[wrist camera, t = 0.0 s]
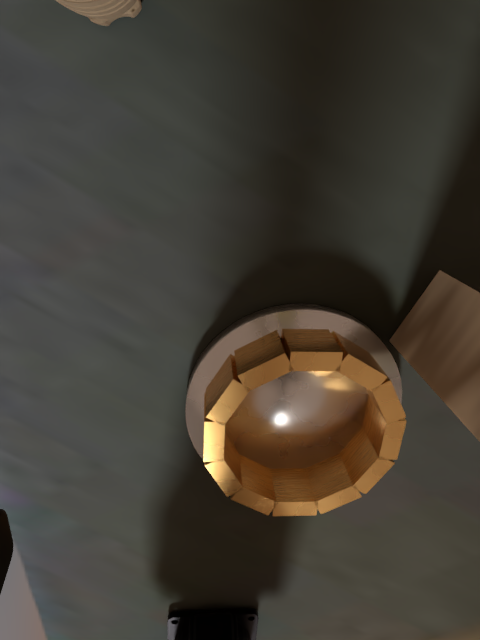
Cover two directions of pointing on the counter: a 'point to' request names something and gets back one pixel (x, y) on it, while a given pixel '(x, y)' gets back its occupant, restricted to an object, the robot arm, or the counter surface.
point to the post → (446, 345)
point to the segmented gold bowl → (296, 409)
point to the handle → (104, 9)
